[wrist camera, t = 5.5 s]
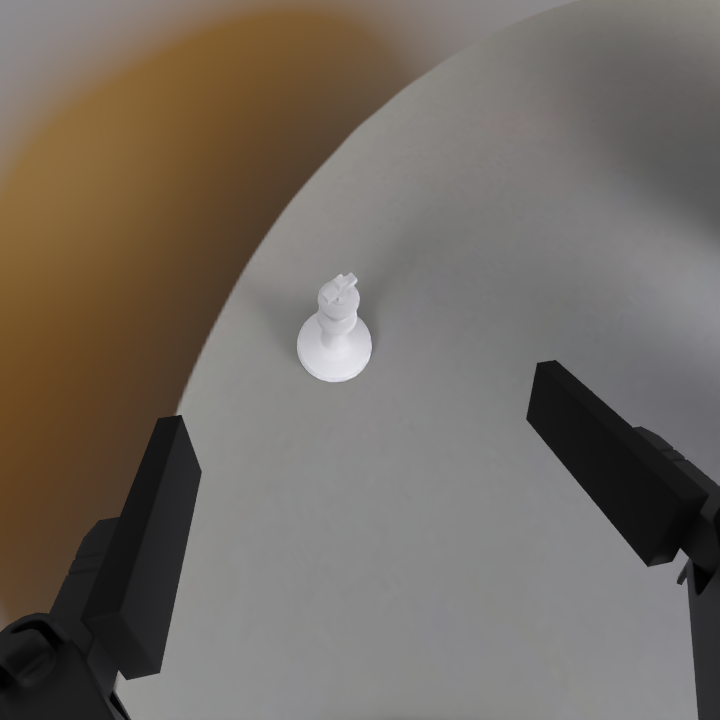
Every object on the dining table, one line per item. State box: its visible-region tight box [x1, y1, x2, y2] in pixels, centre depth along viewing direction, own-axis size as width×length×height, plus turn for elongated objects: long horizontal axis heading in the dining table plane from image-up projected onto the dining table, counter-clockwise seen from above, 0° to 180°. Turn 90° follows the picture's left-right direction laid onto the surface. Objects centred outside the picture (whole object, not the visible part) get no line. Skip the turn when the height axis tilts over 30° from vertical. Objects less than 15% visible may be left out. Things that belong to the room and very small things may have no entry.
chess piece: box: [297, 272, 372, 382], centre depth 23 cm, size 5×5×10 cm
